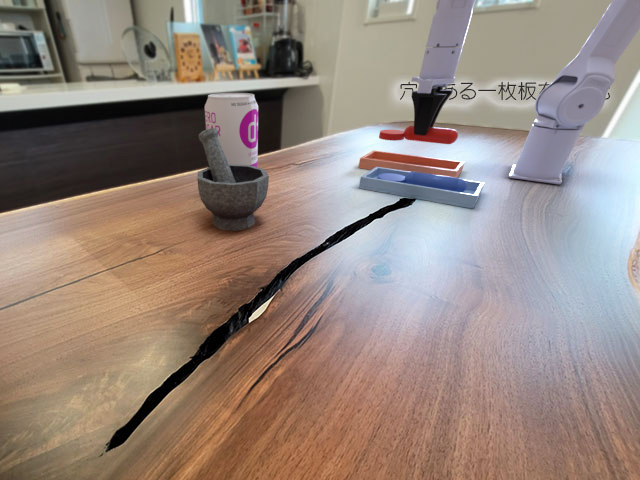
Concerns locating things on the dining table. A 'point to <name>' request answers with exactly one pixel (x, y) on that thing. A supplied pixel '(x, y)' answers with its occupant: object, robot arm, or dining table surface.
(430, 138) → the red spoon
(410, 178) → the blue spoon
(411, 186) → the blue tray
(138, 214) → the dining table surface
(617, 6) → the robot arm
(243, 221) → the mortar and pestle
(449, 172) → the red tray
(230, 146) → the white soda can
